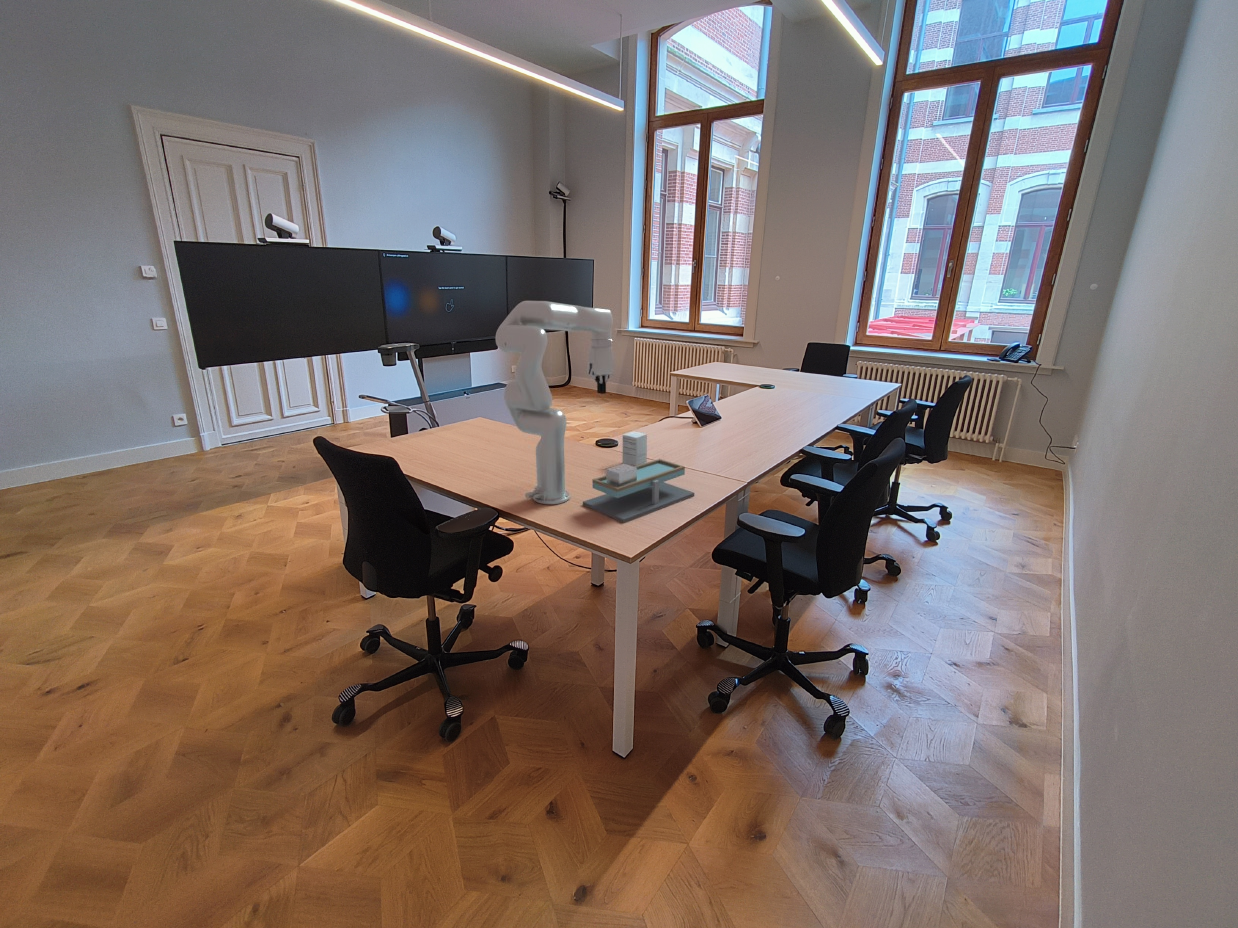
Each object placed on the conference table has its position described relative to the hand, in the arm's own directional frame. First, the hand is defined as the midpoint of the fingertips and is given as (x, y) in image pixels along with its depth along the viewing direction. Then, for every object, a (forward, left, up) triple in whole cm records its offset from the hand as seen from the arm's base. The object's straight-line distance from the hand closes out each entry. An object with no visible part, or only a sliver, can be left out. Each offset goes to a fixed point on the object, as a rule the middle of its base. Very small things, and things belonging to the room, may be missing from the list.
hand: (601, 393), depth 211 cm
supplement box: (+16, -2, -31) cm, 35 cm away
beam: (-11, -32, -23) cm, 41 cm away
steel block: (-21, -33, -22) cm, 45 cm away
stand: (-11, -32, -31) cm, 46 cm away
